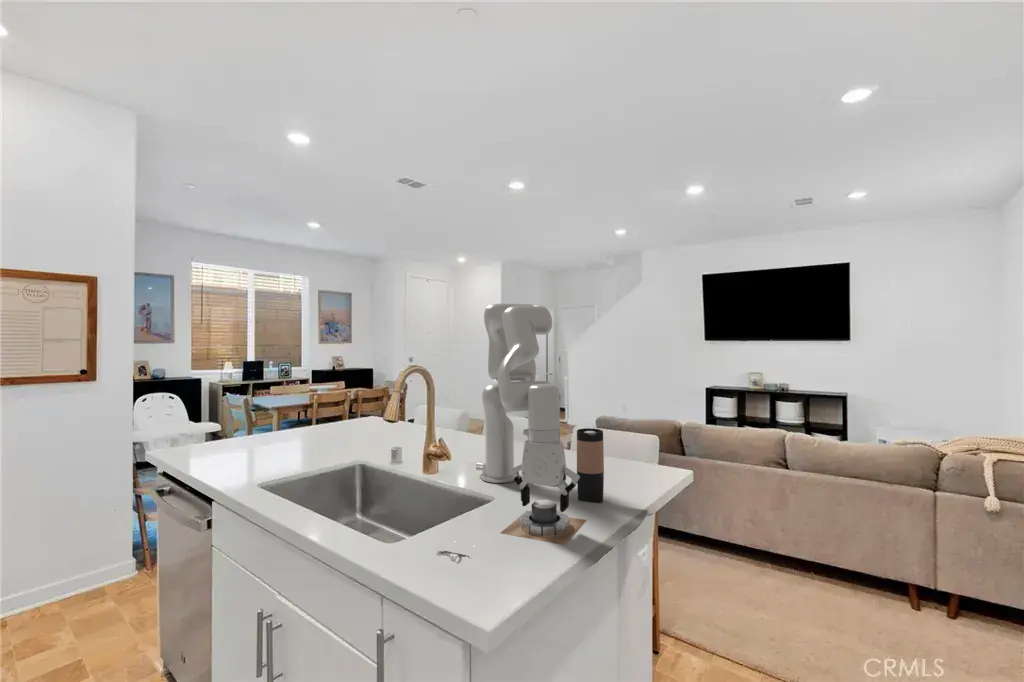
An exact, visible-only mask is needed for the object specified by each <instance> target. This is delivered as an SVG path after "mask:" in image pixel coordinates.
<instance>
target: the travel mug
mask: <svg viewBox="0 0 1024 682" xmlns="http://www.w3.org/2000/svg"><path fill="white" fill-rule="evenodd" d="M604 451H605V450H604V430H602V429H599V428H590V427H588V428H587V427H585V428H579V429H577V430H576V474H578V475H579V476H580V479H579V481H578V482H577V484H576V488H577V501H578V502H585V503H592V504H599V505H601V504H602V503H603V502H604V481H605V479H604V477H605V459H604V457H605V456H604V454H605V453H604Z"/></svg>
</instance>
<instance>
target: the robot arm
mask: <svg viewBox="0 0 1024 682" xmlns="http://www.w3.org/2000/svg"><path fill="white" fill-rule="evenodd" d="M483 323H484V326H485V329H486V333H487V336H488V337H487V338H488V357H487V373H488V376H489V378H490V379H491V380H493V381H496V382H497V383H491V384H489V385H487V386H486V387H484V389H483V390H482V395H481V396H482V397H481V398H482V404H483V412H484V425H485V426H484V427H485V429H484V432H485V439H484V440H485V441H484V442H485V446H484V447H485V448H484V449H485V463H481V462H476V465H475V469H476V471H482V473H481V474H480V478H481V481H484V482H487V483H492V484H506V483H510V482H515V483H516V484H517V486H518V488H519V490H520V501H521V503H522V504H521V505H522V507H526V506H528V504H530V503H531V495H530V494H531V489H530V486H529V485H534V486H535V485H536V486H542V487H548V488H549V487H550V488H558V489H559V491H560V492H561V494H560V496H559V511H560V512H562V513H564V512H565V511H566V510H567V509H568V508H569V507H570V492H572V491H573V489H575V487H577V482H578V481H579V479H580V476H579V475H578V474H577V472H575V471H573V470H572V469H570V468H568V467H567V462H566V455H565V453H566V452H565V448H564V444H563V441H561V440H560V438H561V435H560V433H561V431H560V430H561V429H560V425H561V424H560V388H559V387H558V385H556V384H553V383H551V382H550V381H546V380H536V376H537V373H536V372H537V366H536V365H537V364H536V357H537V355H538V354H539V353H540V346H539V343H538V340H537V336H539V335H541V336H544V335H545V336H546V335H548V334H549V333H551V330H552V327H553V318H552V314H551V311H550V310H549V309H548V308H547V307H546V306H543V305H539V304H534V303H531V304H530V303H494V304H493V303H492V304H489V305H488V306H486V307H485V309H484V313H483ZM511 412H527V414H528V416H527V418H528V420H527V423H528V424H527V426H528V427H527V429H523V431H522V434H523V435H524V436H526V437H527V440H525V441H524V444H523V451H522V458H521V459H522V460H521V463H520V464H519V465H517V466H515V452H514V451H515V449H514V448H515V447H514V446H515V445H514V440H515V438H514V437H515V436H514V433H515V429H514V424H513V422H512V420H511V419H510V418H509V416H508V415H507V413H511ZM519 472H521V473H519ZM567 477H569V478H570V479H571V482H569V484H568V483H567V481H566V480H567Z"/></svg>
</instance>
